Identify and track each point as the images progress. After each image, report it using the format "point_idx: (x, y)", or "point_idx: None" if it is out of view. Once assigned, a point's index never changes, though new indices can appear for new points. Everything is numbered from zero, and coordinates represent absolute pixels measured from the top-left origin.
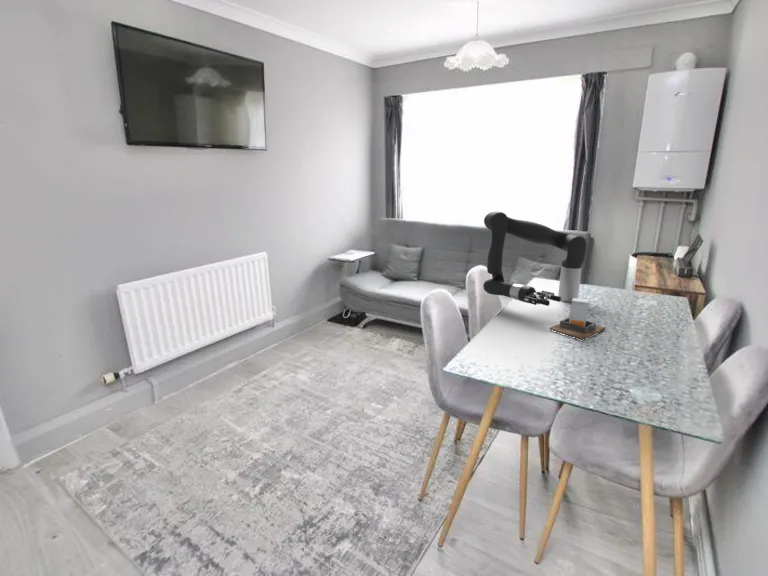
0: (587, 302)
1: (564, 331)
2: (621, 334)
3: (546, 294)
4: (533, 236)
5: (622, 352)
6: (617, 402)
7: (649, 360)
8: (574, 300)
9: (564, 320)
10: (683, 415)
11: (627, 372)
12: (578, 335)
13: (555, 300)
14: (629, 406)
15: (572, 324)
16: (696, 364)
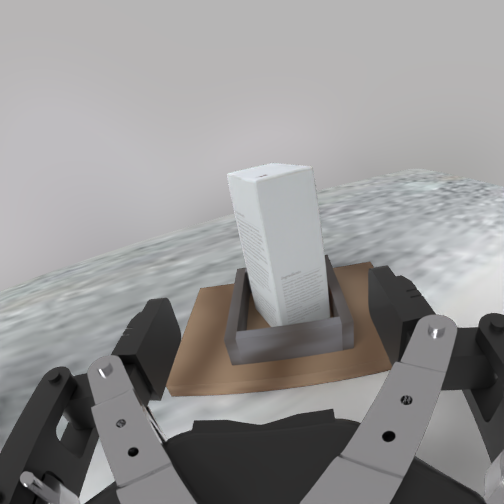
0: (273, 163)
1: None
2: (207, 273)
3: (143, 408)
4: None
5: (330, 229)
6: (469, 184)
7: None
8: (300, 166)
9: (323, 319)
10: (416, 174)
11: (399, 202)
12: (363, 274)
13: (169, 364)
14: (460, 181)
15: (336, 282)
16: None
